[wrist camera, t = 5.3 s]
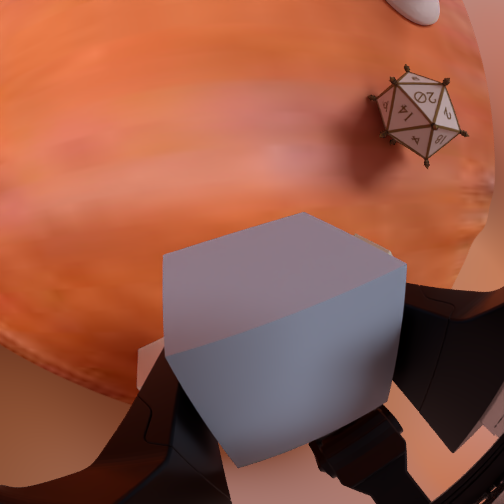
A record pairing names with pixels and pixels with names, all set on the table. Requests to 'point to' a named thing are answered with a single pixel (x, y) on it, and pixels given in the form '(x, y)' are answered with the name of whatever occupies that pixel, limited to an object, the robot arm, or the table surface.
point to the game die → (418, 114)
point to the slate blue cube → (282, 332)
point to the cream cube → (147, 360)
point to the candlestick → (418, 10)
